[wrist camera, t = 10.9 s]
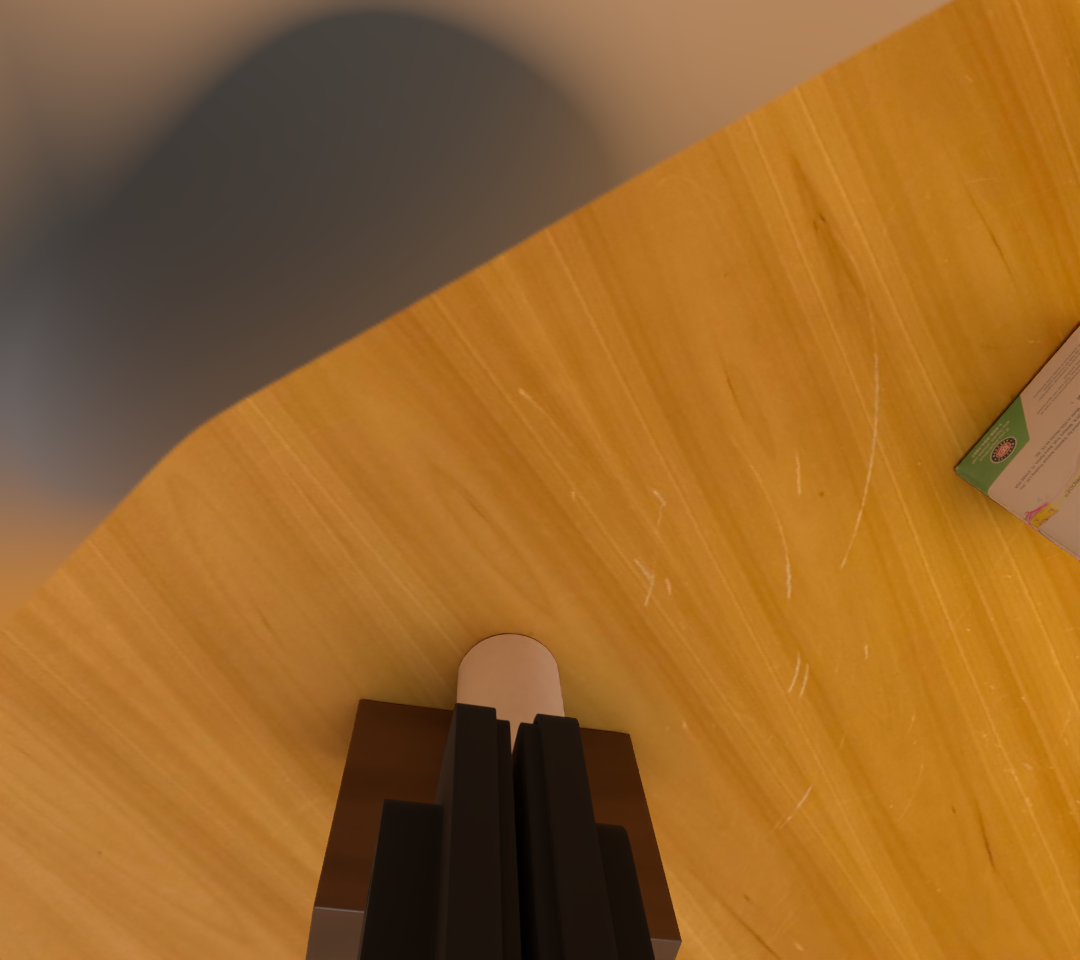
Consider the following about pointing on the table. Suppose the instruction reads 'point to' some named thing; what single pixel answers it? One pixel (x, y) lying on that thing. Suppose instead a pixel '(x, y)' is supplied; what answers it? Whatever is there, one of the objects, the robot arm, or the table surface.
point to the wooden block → (412, 775)
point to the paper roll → (511, 679)
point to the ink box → (1037, 452)
